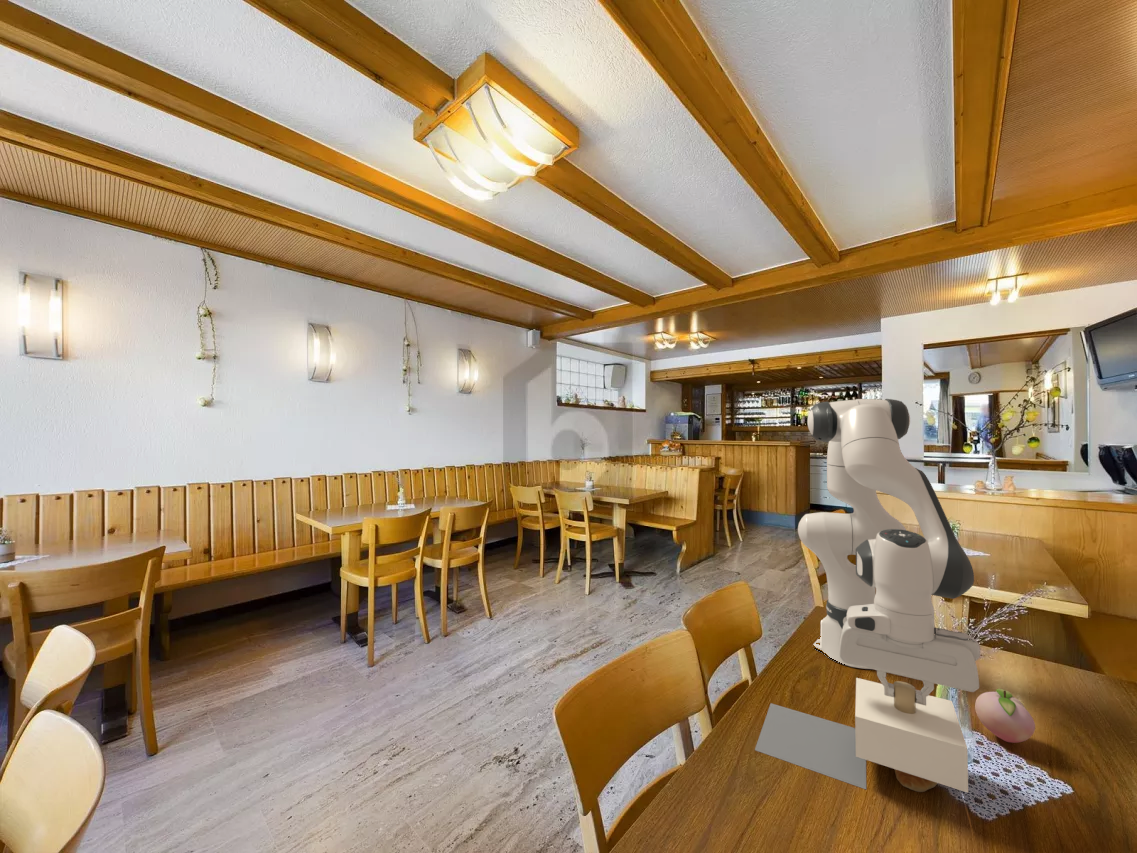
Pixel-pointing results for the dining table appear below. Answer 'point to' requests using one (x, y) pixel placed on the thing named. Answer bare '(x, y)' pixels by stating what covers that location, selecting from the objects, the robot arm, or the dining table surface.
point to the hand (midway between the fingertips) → (904, 698)
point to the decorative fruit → (1004, 716)
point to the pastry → (914, 781)
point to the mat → (812, 744)
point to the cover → (910, 733)
